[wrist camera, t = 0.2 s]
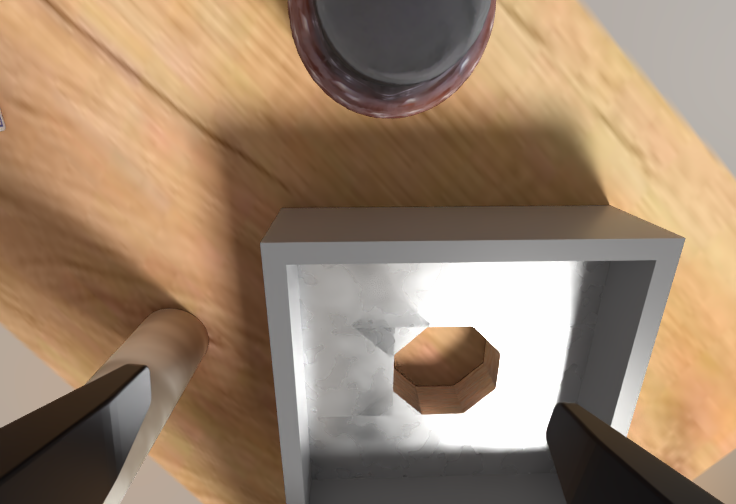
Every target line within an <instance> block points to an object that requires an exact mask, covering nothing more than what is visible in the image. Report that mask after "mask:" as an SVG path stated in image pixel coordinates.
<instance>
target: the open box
mask: <svg viewBox="0 0 736 504" xmlns="http://www.w3.org/2000/svg"><path fill="white" fill-rule="evenodd" d="M684 242H685V238H684V237H682V236H679V235H677V234H675V233H672V232H670V231H668V230H666V229H663V228H661V227H659V226H656V225H654V224H652V223H650V222H647V221H645V220H643V219H640V218H638V217H636V216H633V215H631V214H629V213H627V212H624V211H622V210H620V209H617V208H615V207H613V206H611V205H588V206H466V207H343V208H281V210H280V212H279V213H278V215H277V216H276V218H275V220H274V221H273V223H272V224H271V226H270V228H269V229H268V231H267V232H266V234H265V236H264V237H263V239H262V240H261V242H260V247H261V257H262V267H263V277H264V287H265V297H266V307H267V317H268V327H269V337H270V347H271V357H272V367H273V376H274V386H275V396H276V406H277V416H278V426H279V436H280V446H281V456H282V466H283V476H284V486H285V496H286V504H567V503H566V500H565V498H564V495H563V491H562V488H561V485H560V482H559V479H558V476H557V473H529V474H494V475H460V476H425V477H391V478H357V479H322V480H312V479H311V464H310V449H309V435H308V420H307V405H306V390H305V375H304V360H303V345H302V330H301V315H300V300H299V286H298V271H297V265H310V264H390V263H470V262H550V261H610V263H609V268H608V272H607V276H606V280H605V285H604V289H603V293H602V298H601V302H600V306H599V311H598V315H597V319H596V324H595V328H594V332H593V337H592V341H591V345H590V350H589V354H588V358H587V363H586V367H585V371H584V376H583V380H582V384H581V389H580V393H579V397H578V402H577V404H578V405H580V406H581V407H583V408H584V409H586V410H587V411H589V412H590V413H592V414H593V415H595V416H596V417H597V418H599V419H600V420H602V421H603V422H605V423H606V424H608V425H609V426H611V427H612V428H614V429H615V430H617V431H618V432H620V433H621V434H622V435H624V436H625V437H627V434H628V430H629V427H630V424H631V420H632V417H633V413H634V410H635V407H636V403H637V400H638V397H639V393H640V390H641V387H642V383H643V380H644V376H645V373H646V370H647V366H648V363H649V360H650V356H651V353H652V349H653V346H654V343H655V339H656V336H657V333H658V329H659V326H660V322H661V319H662V316H663V312H664V309H665V306H666V302H667V299H668V295H669V292H670V289H671V285H672V282H673V279H674V275H675V272H676V268H677V265H678V262H679V258H680V255H681V252H682V248H683V245H684Z"/></svg>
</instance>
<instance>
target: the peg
mask: <svg viewBox="0 0 736 504" xmlns="http://www.w3.org/2000/svg"><path fill="white" fill-rule="evenodd" d="M208 345H209V337H208V333H207V330H206V328H205V327H204V325H203V324H202V323H201V322H200V321H199V320H198V319H197V318H196V317H195V316H193V315H192V314H190V313H188V312H185V311H183V310H179V309H171V308H168V309H161V310H158V311H155V312H153V313H152V314H150V315H149V316H148V317H147V318H146V319H145V320H144V321H143V322H142V323H141V324H140V325H139V326H138V327H137V329H136V330H135V331H134V332H133V333H132V334H131V335H130V336H129V337H128V338H127V339H126V341H125V342H124V343H123V344H122V345H121V346H120V347H119V348H118V349H117V350H116V351H115V352H114V354H113V355H112V356H111V357H110V358H109V359H108V360H107V361H106V362H105V363H104V364H103V365H102V367H101V368H100V369H99V370H98V371H97V372H96V373H95V374H94V375H93V376H92V377H91V379H90V380H89V381H88V382H87V383H86V384H88V383H90V382H92V381H94V380H96V379H98V378H100V377H102V376H103V375H105V374H107V373H109V372H111V371H113V370H115V369H117V368H119V367H121V366H123V365H125V364H142V365H147V366H148V367H149V369H150V379H151V404H150V407H149V409H148V412H147V414H146V416H145V418H144V421H143V423H142V425H141V427H140V430H139V432H138V434H137V436H136V439H135V441H134V443H133V445H132V447H131V450H130V452H129V454H128V456H127V459H126V461H125V463H124V465H123V467H122V470H121V472H120V474H119V476H118V478H117V480H116V482H115V483H114V485H113V487H112V489H111V491H110V492H109V494H108V496H107V498H106V499H105V501H104V503H103V504H120V502H121V500H122V499H123V497H124V495H125V493H126V492H127V490H128V488H129V486H130V484H131V483H132V481H133V479H134V478H135V476H136V474H137V472H138V471H139V469H140V467H141V465H142V463H143V461H144V460H145V458H146V456H147V455H148V453H149V451H150V449H151V448H152V446H153V444H154V442H155V441H156V439H157V437H158V435H159V434H160V432H161V430H162V428H163V427H164V425H165V423H166V421H167V420H168V418H169V416H170V414H171V413H172V411H173V409H174V407H175V405H176V404H177V402H178V400H179V398H180V397H181V395H182V393H183V391H184V390H185V388H186V386H187V384H188V383H189V381H190V379H191V377H192V376H193V374H194V372H195V370H196V369H197V367H198V365H199V363H200V362H201V360H202V358H203V356H204V355H205V353H206V351H207V349H208ZM86 384H85V385H86Z"/></svg>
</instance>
